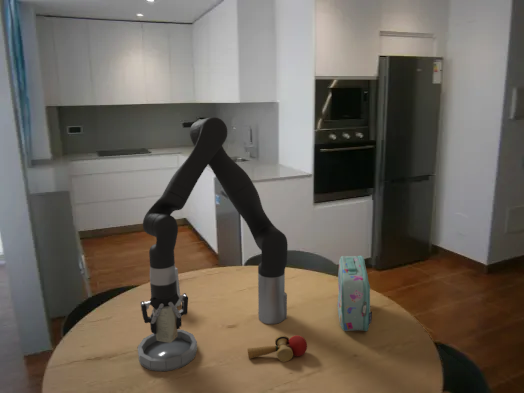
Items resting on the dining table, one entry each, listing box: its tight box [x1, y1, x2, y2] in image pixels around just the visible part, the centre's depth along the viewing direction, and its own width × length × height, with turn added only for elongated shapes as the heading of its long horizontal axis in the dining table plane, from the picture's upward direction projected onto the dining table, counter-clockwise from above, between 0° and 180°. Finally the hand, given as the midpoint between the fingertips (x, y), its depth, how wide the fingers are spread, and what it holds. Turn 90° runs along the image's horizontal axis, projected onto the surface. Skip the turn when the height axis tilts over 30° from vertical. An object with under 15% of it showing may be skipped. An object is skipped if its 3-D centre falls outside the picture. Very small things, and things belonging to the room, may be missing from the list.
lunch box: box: [336, 255, 373, 332], centre depth 144 cm, size 27×10×21 cm, turn 173°
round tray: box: [137, 329, 198, 372], centre depth 126 cm, size 17×17×3 cm
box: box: [154, 306, 178, 343], centre depth 124 cm, size 5×4×11 cm
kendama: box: [247, 334, 308, 362], centre depth 124 cm, size 8×6×18 cm
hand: (166, 330), depth 125 cm, fingers closed on box, 6 cm apart
